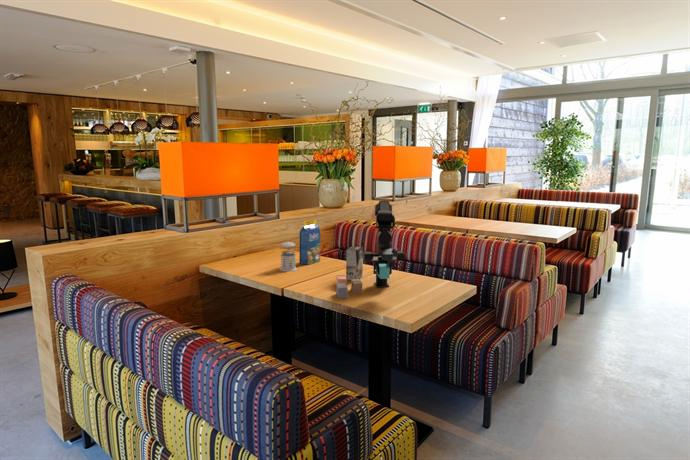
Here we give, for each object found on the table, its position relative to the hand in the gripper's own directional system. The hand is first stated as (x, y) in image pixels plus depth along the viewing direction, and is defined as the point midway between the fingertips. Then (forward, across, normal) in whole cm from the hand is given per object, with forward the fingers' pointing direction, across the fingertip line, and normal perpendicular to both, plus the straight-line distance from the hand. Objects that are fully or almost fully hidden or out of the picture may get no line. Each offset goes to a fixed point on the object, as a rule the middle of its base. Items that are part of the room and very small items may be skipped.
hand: (383, 274), depth 203 cm
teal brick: (+1, 0, 0) cm, 1 cm away
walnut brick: (+11, -10, +10) cm, 18 cm away
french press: (+11, -40, +53) cm, 67 cm away
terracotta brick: (+11, -16, +18) cm, 27 cm away
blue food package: (+11, -27, +68) cm, 74 cm away
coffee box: (+11, -7, +32) cm, 35 cm away
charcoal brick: (+11, -18, +4) cm, 21 cm away
